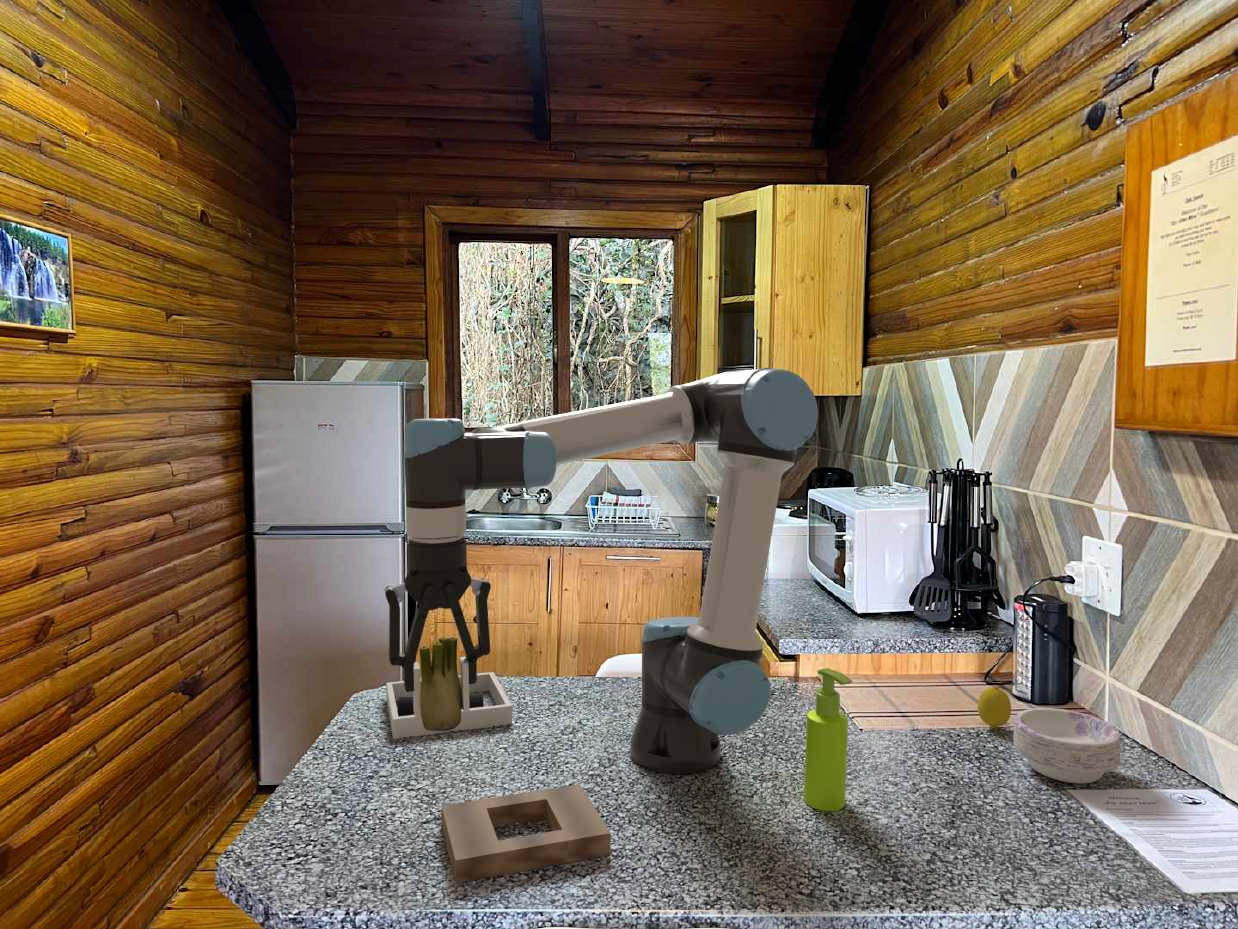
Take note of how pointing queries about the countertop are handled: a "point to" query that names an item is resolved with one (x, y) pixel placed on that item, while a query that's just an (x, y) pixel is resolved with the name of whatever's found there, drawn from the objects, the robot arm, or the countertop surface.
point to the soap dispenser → (826, 747)
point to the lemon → (994, 707)
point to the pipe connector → (408, 708)
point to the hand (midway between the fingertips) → (441, 710)
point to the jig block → (486, 856)
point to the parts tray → (469, 719)
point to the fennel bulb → (440, 686)
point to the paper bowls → (1067, 744)
